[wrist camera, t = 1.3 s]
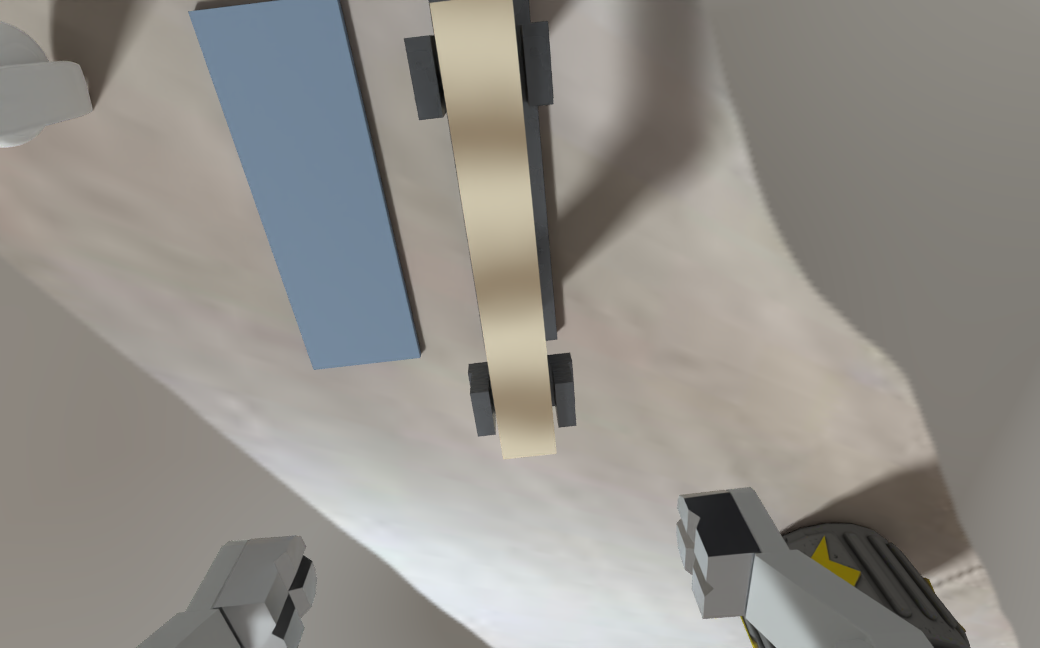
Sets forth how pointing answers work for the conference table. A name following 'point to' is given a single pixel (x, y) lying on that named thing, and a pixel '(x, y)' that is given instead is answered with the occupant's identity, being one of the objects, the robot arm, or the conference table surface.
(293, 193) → the mat
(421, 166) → the conference table surface
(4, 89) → the headset
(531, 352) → the rail
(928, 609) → the decorative lamp
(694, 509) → the robot arm
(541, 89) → the hook rack
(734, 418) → the conference table surface
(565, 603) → the conference table surface
